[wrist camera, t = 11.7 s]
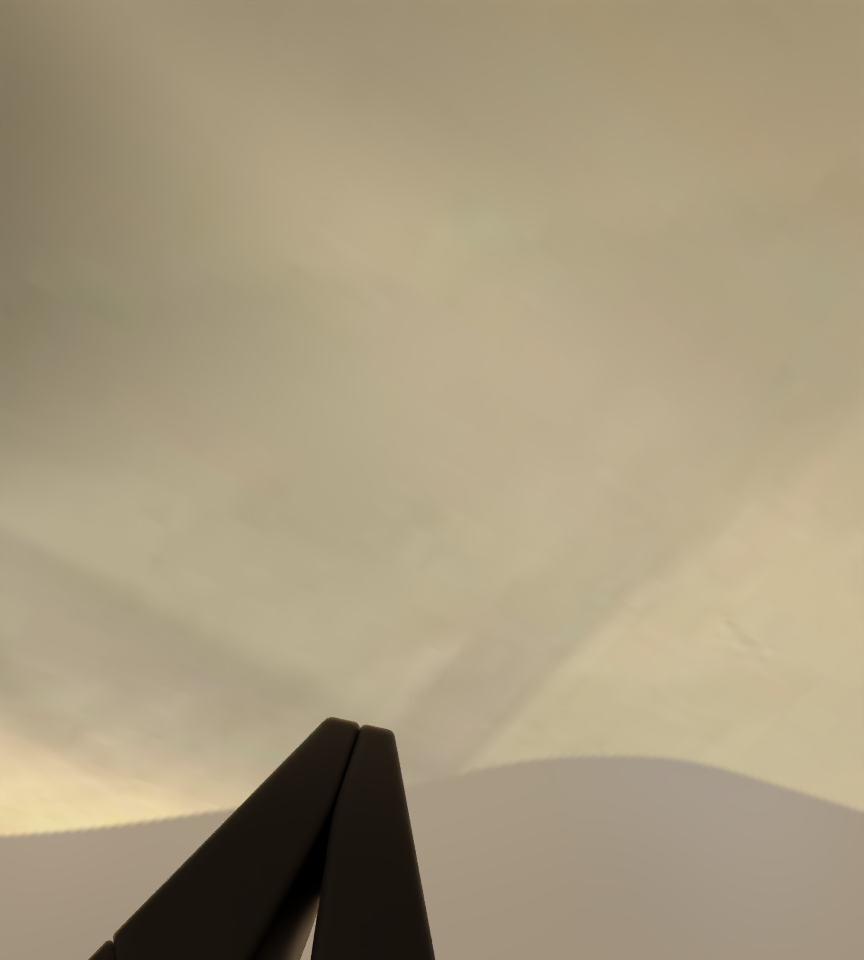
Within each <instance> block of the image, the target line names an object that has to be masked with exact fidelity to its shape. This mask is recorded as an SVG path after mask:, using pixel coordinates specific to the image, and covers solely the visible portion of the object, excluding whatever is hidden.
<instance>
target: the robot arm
mask: <svg viewBox="0 0 864 960" xmlns="http://www.w3.org/2000/svg"><path fill="white" fill-rule="evenodd" d="M317 912H318V913H317ZM316 914H317V920H316V927H315V933H314V940H313V947H312V954H311V960H435V956H434V950H433V945H432V939H431V934H430V929H429V923H428V918H427V912H426V906H425V901H424V895H423V890H422V885H421V879H420V873H419V868H418V862H417V857H416V851H415V846H414V840H413V835H412V829H411V824H410V818H409V813H408V807H407V802H406V796H405V791H404V785H403V779H402V774H401V768H400V763H399V757H398V752H397V746H396V741H395V736H394V734H393V732H392V731H391V730H388V729H384V728H379V727H375V726H370V725H363V726H362V727H361V728H360V727H359V725H358V724H357V723H356V722H352V721H348V720H344V719H339V718H335V717H330V718H327V719H326V720H325V721H323V722H322V723H321V724H320V725H319V726H318V727H317V728H316V729H315V730H314V731H313V732H312V734H311V735H310V736H309V737H308V738H307V739H306V740H305V741H304V742H303V743H302V744H301V745H300V746H299V747H298V748H297V749H296V750H295V751H294V752H293V753H292V754H291V755H290V756H289V757H288V758H287V759H286V760H285V761H284V762H283V763H282V764H281V765H280V766H279V767H278V768H277V769H276V770H275V771H274V772H273V773H272V774H271V775H270V776H269V777H268V778H267V779H266V780H265V781H264V782H263V783H262V784H261V785H260V786H259V787H258V788H257V789H256V790H255V791H254V792H253V793H252V794H251V795H250V796H249V797H248V798H247V800H246V801H245V802H244V803H243V804H242V805H241V806H240V807H239V808H238V809H237V810H236V811H235V812H234V813H233V814H232V815H231V816H230V817H229V818H228V819H227V820H226V821H225V822H224V823H223V824H222V825H221V826H220V827H219V828H218V829H217V830H216V831H215V832H214V833H213V834H212V835H211V836H210V837H209V838H208V839H207V840H206V841H205V842H204V843H203V844H202V845H201V846H200V847H199V848H198V849H197V850H196V851H195V852H194V853H193V855H191V857H189V859H187V861H185V863H184V864H183V865H182V866H181V867H180V868H179V869H178V870H177V871H176V872H175V873H174V874H173V875H172V876H171V877H170V878H169V879H168V880H167V881H166V882H165V883H164V884H163V885H162V886H161V887H160V888H159V889H158V890H157V891H156V892H155V893H154V894H153V895H152V896H151V897H150V898H149V899H148V900H147V901H146V902H145V903H144V904H143V905H142V906H141V907H140V908H139V909H138V910H137V911H136V912H135V913H134V914H133V915H132V916H131V917H130V918H129V919H128V920H127V922H125V923H124V924H123V925H122V926H121V927H120V929H119V930H118V931H117V932H116V933H115V934H114V936H113V941H114V944H113V942H112V941H106V942H105V943H104V944H103V946H101V947H100V948H99V949H98V950H97V951H96V952H95V953H94V954H93V955H92V956H91V957H90V958H89V960H300V958H301V956H302V953H303V950H304V948H305V945H306V942H307V940H308V937H309V934H310V932H311V929H312V926H313V923H314V920H315V917H316Z"/></svg>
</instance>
